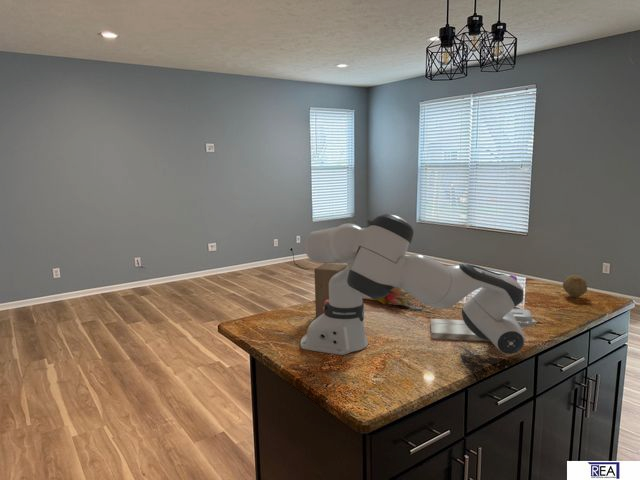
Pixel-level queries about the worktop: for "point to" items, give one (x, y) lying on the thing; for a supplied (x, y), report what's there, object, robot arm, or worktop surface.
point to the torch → (396, 297)
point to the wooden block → (324, 283)
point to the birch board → (452, 330)
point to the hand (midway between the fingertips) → (493, 308)
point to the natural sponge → (575, 286)
